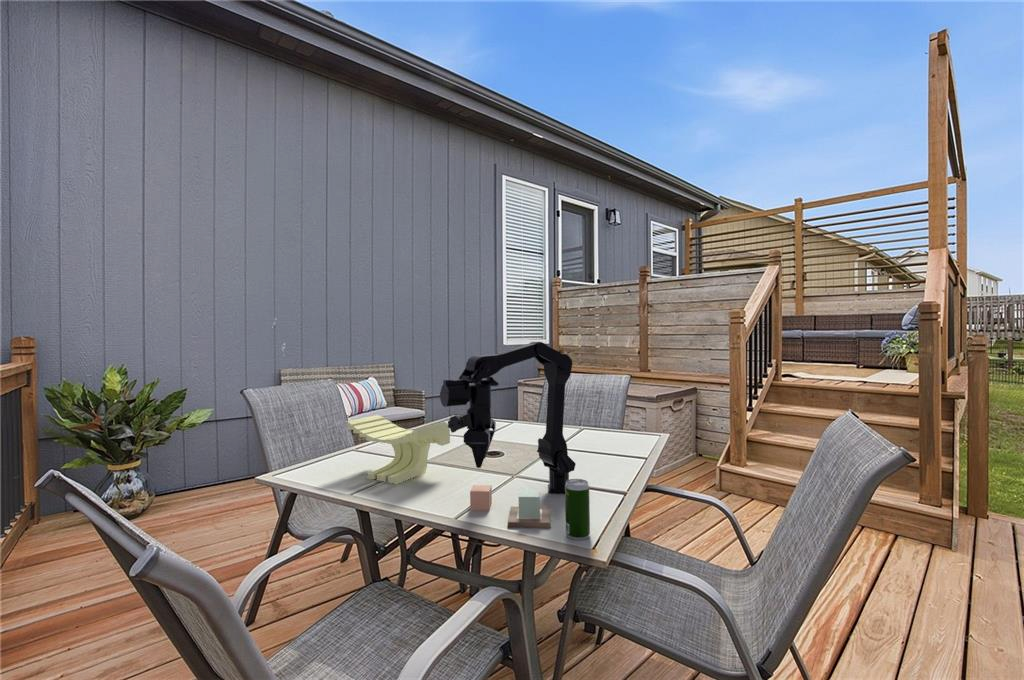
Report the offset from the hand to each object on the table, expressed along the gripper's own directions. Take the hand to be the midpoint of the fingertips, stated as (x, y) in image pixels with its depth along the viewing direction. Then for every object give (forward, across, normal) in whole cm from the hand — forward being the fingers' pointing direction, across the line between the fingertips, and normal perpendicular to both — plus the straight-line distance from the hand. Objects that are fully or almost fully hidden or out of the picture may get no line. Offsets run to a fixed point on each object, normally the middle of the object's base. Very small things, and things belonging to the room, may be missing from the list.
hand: (481, 462), depth 121 cm
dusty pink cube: (+12, 0, 0) cm, 12 cm away
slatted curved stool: (+12, -28, -31) cm, 44 cm away
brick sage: (+10, +8, +13) cm, 18 cm away
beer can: (+12, +17, +24) cm, 32 cm away
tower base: (+12, +8, +13) cm, 19 cm away
